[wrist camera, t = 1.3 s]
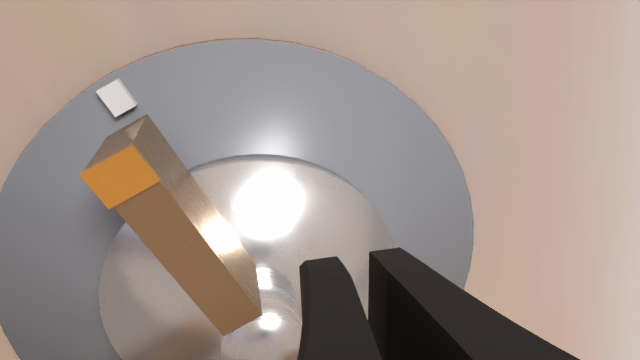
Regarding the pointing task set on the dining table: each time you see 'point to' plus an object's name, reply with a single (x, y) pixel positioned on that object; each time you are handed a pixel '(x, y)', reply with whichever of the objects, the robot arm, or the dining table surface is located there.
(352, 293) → the robot arm
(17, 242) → the dial base
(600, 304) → the dining table surface
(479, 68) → the dining table surface
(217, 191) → the dial
